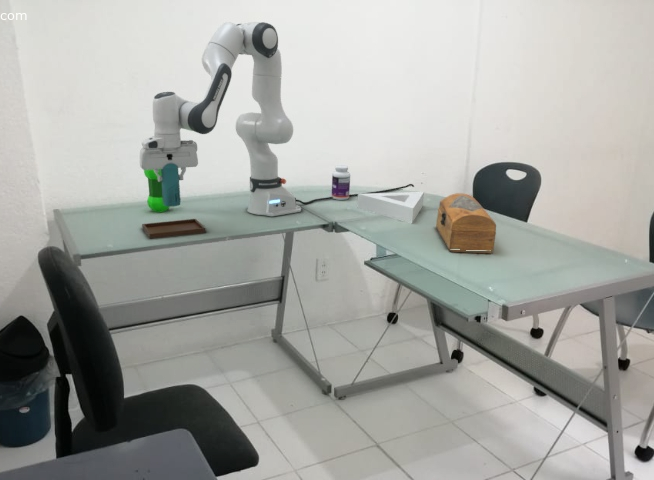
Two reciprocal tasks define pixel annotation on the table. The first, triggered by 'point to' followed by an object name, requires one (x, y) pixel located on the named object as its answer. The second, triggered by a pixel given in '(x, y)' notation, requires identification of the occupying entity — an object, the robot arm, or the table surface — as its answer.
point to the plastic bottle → (155, 191)
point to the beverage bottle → (170, 184)
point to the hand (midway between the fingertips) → (170, 180)
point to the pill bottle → (340, 183)
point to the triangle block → (392, 204)
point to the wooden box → (465, 224)
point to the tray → (173, 228)
